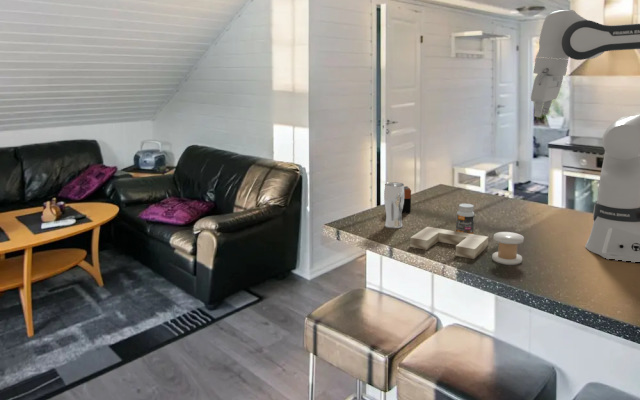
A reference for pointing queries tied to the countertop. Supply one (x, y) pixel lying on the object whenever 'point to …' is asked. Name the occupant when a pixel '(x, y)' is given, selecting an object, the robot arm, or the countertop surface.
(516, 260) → the spool
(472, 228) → the pill bottle
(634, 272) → the countertop surface
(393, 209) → the beer glass
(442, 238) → the notched board
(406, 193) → the battery
